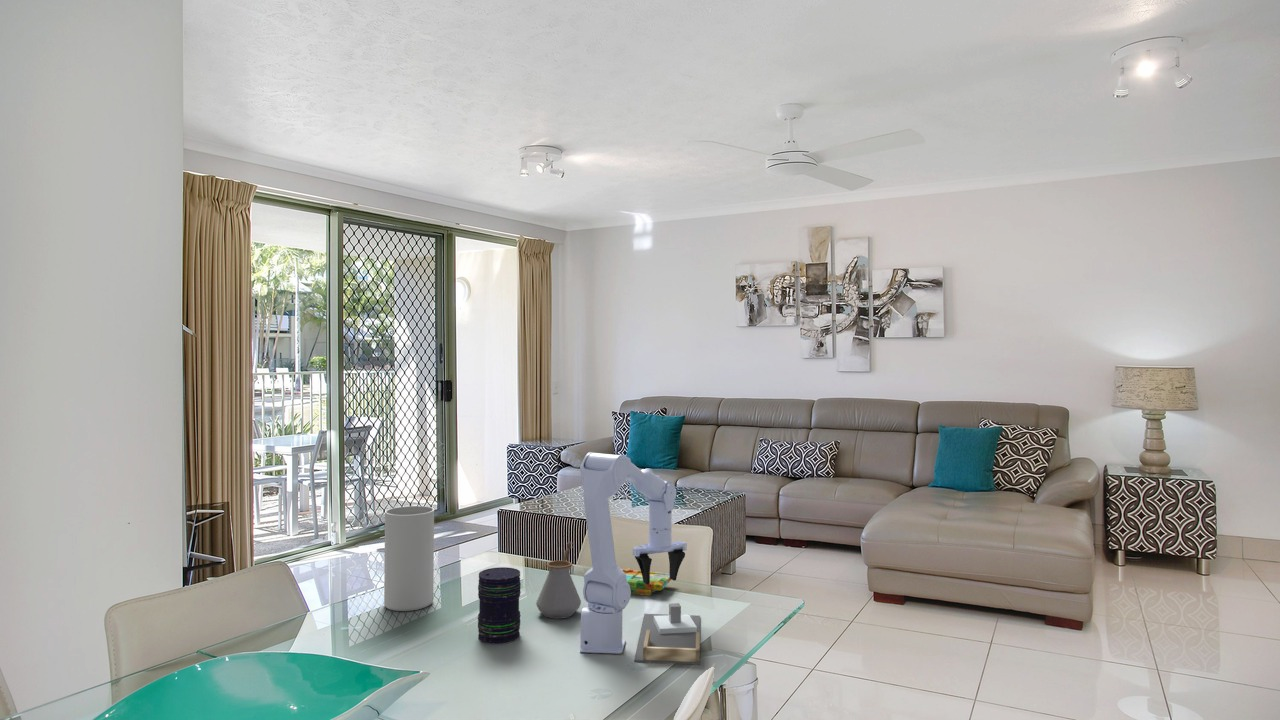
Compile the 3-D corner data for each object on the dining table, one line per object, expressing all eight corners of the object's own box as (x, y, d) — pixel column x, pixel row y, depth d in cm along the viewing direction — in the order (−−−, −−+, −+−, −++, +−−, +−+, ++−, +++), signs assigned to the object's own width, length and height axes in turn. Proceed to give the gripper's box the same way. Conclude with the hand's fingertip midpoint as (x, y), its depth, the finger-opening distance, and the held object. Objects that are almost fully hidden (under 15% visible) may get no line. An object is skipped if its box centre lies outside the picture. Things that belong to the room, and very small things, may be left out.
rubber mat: (634, 661, 159) (634, 660, 159) (644, 615, 189) (644, 613, 189) (699, 664, 158) (699, 662, 158) (699, 617, 187) (699, 615, 187)
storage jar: (515, 626, 180) (516, 565, 180) (524, 641, 170) (524, 576, 171) (474, 631, 176) (475, 569, 176) (481, 646, 167) (481, 580, 167)
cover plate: (659, 633, 175) (659, 611, 175) (653, 620, 183) (653, 599, 183) (696, 632, 176) (696, 610, 176) (688, 619, 185) (689, 598, 185)
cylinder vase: (374, 610, 191) (375, 513, 191) (401, 595, 203) (401, 504, 203) (417, 614, 188) (418, 516, 188) (442, 599, 200) (442, 507, 200)
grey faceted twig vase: (576, 622, 183) (576, 562, 183) (531, 620, 184) (531, 560, 184) (590, 595, 204) (591, 541, 204) (550, 593, 205) (550, 540, 206)
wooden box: (642, 661, 159) (643, 647, 159) (646, 642, 170) (646, 629, 170) (699, 663, 158) (699, 650, 158) (699, 644, 169) (699, 631, 169)
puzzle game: (607, 565, 219) (672, 571, 213) (607, 581, 219) (672, 587, 213) (594, 575, 208) (662, 582, 202) (593, 592, 208) (662, 599, 202)
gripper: (641, 533, 179) (641, 589, 179) (692, 528, 186) (692, 581, 186) (629, 527, 186) (628, 581, 186) (679, 522, 192) (678, 574, 192)
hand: (659, 581), depth 186 cm, fingers open, 7 cm apart
